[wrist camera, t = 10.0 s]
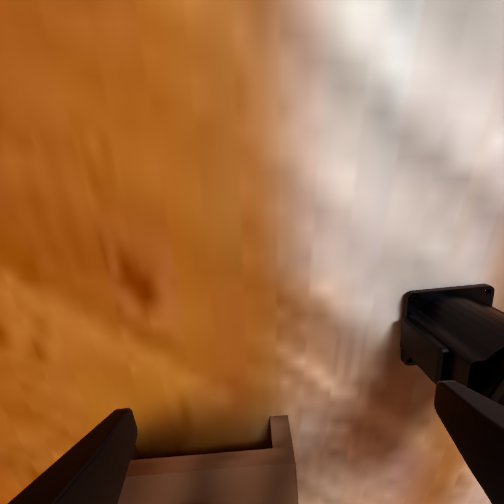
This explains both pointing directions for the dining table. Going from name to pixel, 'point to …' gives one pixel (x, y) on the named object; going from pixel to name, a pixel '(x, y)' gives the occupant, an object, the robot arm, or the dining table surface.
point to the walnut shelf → (217, 475)
